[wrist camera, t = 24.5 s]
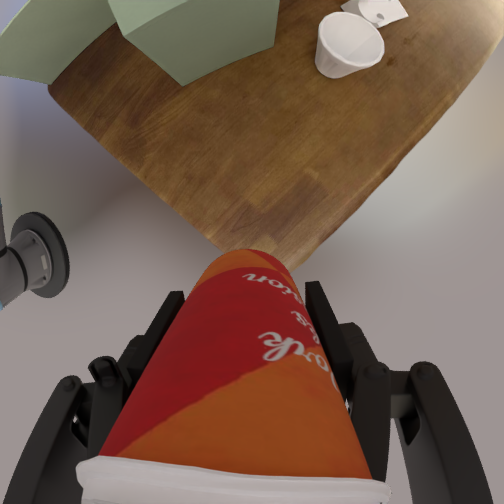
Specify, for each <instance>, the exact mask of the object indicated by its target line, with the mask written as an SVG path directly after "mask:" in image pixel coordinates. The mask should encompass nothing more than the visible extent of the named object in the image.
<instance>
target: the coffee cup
mask: <svg viewBox="0 0 504 504" xmlns="http://www.w3.org/2000/svg"><path fill="white" fill-rule="evenodd" d="M76 474H77V480H78V482H79V483H80V485H81V486H82V487H83V488H84V489H83V494H82V500H81V504H380V503H381V502H382V504H387V503H388V502H389V500H390V495H391V488H390V486H389V485H387V484H386V483H384V482H380V481H376V480H373V479H372V476H371V474H370V471H369V468H368V465H367V462H366V459H365V457H364V454H363V451H362V448H361V446H360V443H359V440H358V438H357V435H356V432H355V430H354V427H353V424H352V422H351V419H350V416H349V413H348V411H347V408H346V406H345V403H344V400H343V398H342V395H341V393H340V390H339V388H338V385H337V382H336V380H335V377H334V375H333V372H332V370H331V367H330V365H329V362H328V360H327V357H326V355H325V352H324V350H323V348H322V345H321V343H320V340H319V338H318V335H317V333H316V331H315V328H314V326H313V324H312V321H311V319H310V316H309V314H308V312H307V309H306V307H305V305H304V303H303V300H302V298H301V296H300V294H299V292H298V289H297V287H296V285H295V283H294V281H293V279H292V277H291V276H290V273H289V272H288V270H287V269H286V268H285V266H284V265H283V264H282V263H281V262H280V261H278V260H277V259H276V258H274V257H273V256H271V255H269V254H267V253H265V252H262V251H258V250H252V249H240V250H235V251H231V252H228V253H226V254H224V255H222V256H220V257H218V258H217V259H216V260H215V261H214V262H212V263H211V264H210V265H209V266H208V268H207V269H206V270H205V272H204V273H203V275H202V276H201V277H200V279H199V280H198V282H197V283H196V285H195V286H194V288H193V290H192V291H191V293H190V294H189V296H188V298H187V299H186V301H185V302H184V304H183V306H182V307H181V309H180V310H179V312H178V314H177V315H176V317H175V319H174V320H173V322H172V324H171V325H170V327H169V329H168V330H167V332H166V334H165V335H164V337H163V339H162V341H161V342H160V344H159V346H158V347H157V349H156V351H155V353H154V354H153V356H152V358H151V359H150V361H149V363H148V365H147V366H146V368H145V370H144V372H143V373H142V375H141V377H140V379H139V380H138V382H137V384H136V386H135V388H134V389H133V391H132V393H131V395H130V397H129V398H128V400H127V402H126V404H125V406H124V407H123V409H122V411H121V413H120V415H119V417H118V418H117V420H116V422H115V424H114V426H113V428H112V430H111V432H110V433H109V435H108V437H107V439H106V441H105V443H104V445H103V447H102V449H101V451H100V452H99V454H98V456H97V457H94V458H92V459H89V460H86V461H82V462H80V463H79V464H78V465H77V466H76Z"/></svg>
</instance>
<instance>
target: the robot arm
mask: <svg viewBox="0 0 504 504" xmlns="http://www.w3.org/2000/svg"><path fill="white" fill-rule="evenodd" d="M53 271H54V265H53V258H52V254H51V251H50V249H49V246H48V244H47V243H46V241H45V239H44V238H43V237H42V236H41V235H40V234H39V233H38V232H37V231H35V230H33V229H26V230H24V231H22V232H20V233H19V234H18V235H17V236H16V237H15V238H14V239H13V240H12V241H11V243H10V244H9V245H8V246H6V240H5V233H4V225H3V217H2V204H1V200H0V311H1V310H2V309H3V307H5V306H6V305H8V304H9V303H10V302H11V301H13V300H14V299H15V298H17V297H18V296H19V295H20V294H22V293H23V292H24V291H26V290H31V289H36V288H41V287H43V286H45V285H46V284H48V283H49V282H50V281H51V279H52V276H53ZM305 289H306V290H305V295H306V296H305V301H306V302H305V304H306V305H305V307H306V309H307V312H308V314H309V316H310V319H311V321H312V324H313V326H314V328H315V331H316V333H317V335H318V338H319V340H320V343H321V345H322V348H323V350H324V352H325V355H326V357H327V360H328V362H329V365H330V367H331V370H332V372H333V375H334V377H335V380H336V382H337V385H338V388H339V390H340V393H341V395H342V398H343V400H344V403H345V402H346V398H347V402H348V405H349V408H348V413H349V416H350V419H351V422H352V424H353V427H354V430H355V432H356V435H357V438H358V440H359V443H360V446H361V448H362V451H363V454H364V457H365V459H366V462H367V465H368V468H369V471H370V474H371V476H372V479H373V480H376V481H380V482H384V483H385V480H386V472H387V463H388V452H389V440H390V439H389V438H390V420H391V418H394V420H395V424H396V428H397V431H398V435H399V439H400V443H401V447H402V451H403V455H404V460H405V464H406V469H407V474H408V479H409V484H410V489H411V495H412V500H413V504H493V500H492V496H491V493H490V489H489V486H488V483H487V479H486V476H485V473H484V470H483V467H482V464H481V461H480V459H479V456H478V453H477V451H476V448H475V445H474V443H473V440H472V438H471V435H470V433H469V431H468V428H467V426H466V424H465V421H464V419H463V417H462V415H461V412H460V410H459V408H458V406H457V404H456V402H455V400H454V397H453V396H452V393H451V391H450V389H449V387H448V385H447V383H446V382H445V380H444V378H443V376H442V374H441V372H440V370H439V369H438V368H437V366H436V365H434V364H432V363H430V362H426V361H424V362H418V363H415V364H414V365H413V366H412V367H411V369H410V371H392V370H389V368H388V367H387V366H386V365H385V364H384V363H381V362H378V360H377V359H376V357H375V355H374V353H373V351H372V349H371V347H370V345H369V343H368V342H367V339H366V338H365V336H364V334H363V332H362V330H361V329H360V327H359V326H357V325H356V324H355V323H353V322H351V323H344V324H338V321H337V319H336V317H335V315H334V313H333V310H332V308H331V306H330V304H329V302H328V300H327V298H326V295H325V293H324V291H323V289H322V287H321V285H320V282H319V281H313V282H305ZM184 302H185V298H184V294H183V291H171V292H170V293H169V295H168V296H167V298H166V300H165V301H164V303H163V305H162V306H161V308H160V309H159V311H158V313H157V315H156V316H155V318H154V320H153V321H152V323H151V325H150V326H149V328H148V330H147V332H146V333H145V335H137V336H136V337H134V338H133V339H132V340H131V341H130V342H129V344H128V345H127V347H126V349H125V350H124V352H123V354H122V355H121V357H120V358H119V360H118V362H116V360H115V359H114V358H113V357H110V356H102V357H98V358H96V359H94V360H93V361H92V362H91V363H90V364H89V366H88V369H89V371H90V373H91V375H92V376H93V378H94V380H95V382H94V383H93V382H92V383H82V381H81V380H80V378H79V377H77V376H74V375H73V376H67V377H64V378H63V379H61V380H60V382H59V383H58V385H57V386H56V388H55V390H54V391H53V393H52V395H51V397H50V399H49V400H48V402H47V404H46V406H45V408H44V409H43V411H42V413H41V415H40V417H39V419H38V421H37V423H36V425H35V427H34V429H33V431H32V433H31V435H30V437H29V439H28V441H27V443H26V446H25V448H24V450H23V452H22V455H21V457H20V459H19V461H18V464H17V466H16V469H15V471H14V474H13V476H12V479H11V481H10V484H9V487H8V490H7V493H6V495H5V499H4V502H3V504H81V500H82V494H83V489H84V488H83V487H82V486H81V485H80V483H79V482H78V480H77V474H76V466H77V465H78V464H79V463H80V462H82V461H86V460H89V459H92V458H94V457H97V456H98V454H99V452H100V451H101V449H102V447H103V445H104V443H105V441H106V439H107V437H108V435H109V433H110V432H111V430H112V428H113V426H114V424H115V422H116V420H117V418H118V417H119V415H120V413H121V411H122V409H123V407H124V406H125V404H126V402H127V400H128V398H129V397H130V395H131V393H132V391H133V389H134V388H135V386H136V384H137V382H138V380H139V379H140V377H141V375H142V373H143V372H144V370H145V368H146V366H147V365H148V363H149V361H150V359H151V358H152V356H153V354H154V353H155V351H156V349H157V347H158V346H159V344H160V342H161V341H162V339H163V337H164V335H165V334H166V332H167V330H168V329H169V327H170V325H171V324H172V322H173V320H174V319H175V317H176V315H177V314H178V312H179V310H180V309H181V307H182V306H183V304H184ZM74 416H75V417H76V418H77V420H76V422H75V423H74V422H73V419H74ZM380 504H382V502H381V503H380Z"/></svg>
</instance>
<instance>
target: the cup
mask: <svg viewBox="0 0 504 504" xmlns="http://www.w3.org/2000/svg"><path fill="white" fill-rule="evenodd" d="M383 54H384V41H383V39H382V37H381V35H380V33H379V31H378V30H377V29H376V28H375V27H374V26H373V25H372V24H371V23H370V22H369V21H367V20H366V19H364V18H362V17H361V16H359V15H356V14H352V13H349V12H334V13H332V14H330V15H327V16H325V17H324V19H323V20H322V21H321V23H320V24H319V28H318V42H317V49H316V56H315V64H316V67H317V69H318V70H319V71H320V72H321V73H322V74H323V75H325V76H327V77H329V78H341V77H343V76H346V75H348V74H351V73H353V72H356V71H358V70H361V69H366V68H368V67H370V66H372V65H374V64H376V63H377V62H379V61H380V60H381V58H382V56H383Z"/></svg>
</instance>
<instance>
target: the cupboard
mask: <svg viewBox="0 0 504 504" xmlns="http://www.w3.org/2000/svg"><path fill="white" fill-rule="evenodd" d="M107 1H108V3H109V5H110V7H111V10H112V12H113V14H114V17H115V19H116V21H117V23H118V26H119V28H120V30H121V32H122V34H123V37H125V38H126V39H127V40H128V41H130V42H131V43H132V44H133V45H135V46H136V47H137V48H138V49H140V50H141V51H142V52H143V53H144V54H146V55H147V56H148V57H149V58H150V59H152V60H153V61H154V62H155V63H156V64H157V65H159V66H160V67H161V68H162V69H163V70H164V71H166V72H167V73H168V74H169V75H170V76H171V77H172V78H174V79H175V80H176V81H177V82H178V83H179V84H180V85H181V86H185V85H187V84H189V83H191V82H193V81H195V80H197V79H198V78H200V77H202V76H204V75H206V74H209V73H211V72H213V71H215V70H217V69H219V68H221V67H224V66H226V65H228V64H230V63H233V62H235V61H237V60H240V59H242V58H245V57H247V56H250V55H252V54H255V53H257V52H260V51H263V50H265V49H268V48H271V47H274V39H275V32H276V24H277V17H278V9H279V1H280V0H107Z"/></svg>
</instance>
